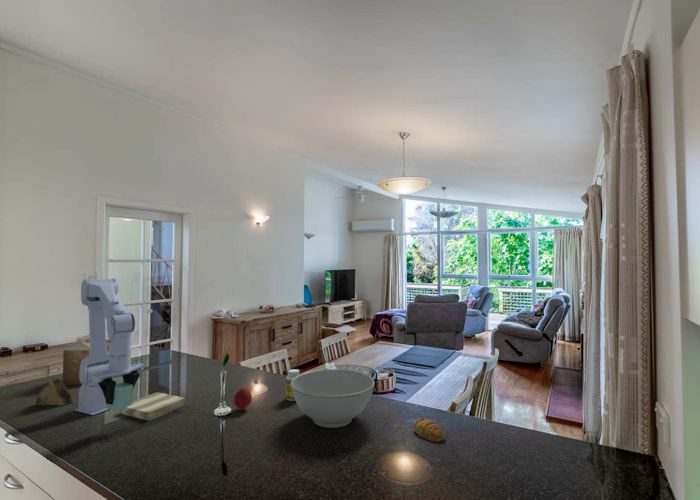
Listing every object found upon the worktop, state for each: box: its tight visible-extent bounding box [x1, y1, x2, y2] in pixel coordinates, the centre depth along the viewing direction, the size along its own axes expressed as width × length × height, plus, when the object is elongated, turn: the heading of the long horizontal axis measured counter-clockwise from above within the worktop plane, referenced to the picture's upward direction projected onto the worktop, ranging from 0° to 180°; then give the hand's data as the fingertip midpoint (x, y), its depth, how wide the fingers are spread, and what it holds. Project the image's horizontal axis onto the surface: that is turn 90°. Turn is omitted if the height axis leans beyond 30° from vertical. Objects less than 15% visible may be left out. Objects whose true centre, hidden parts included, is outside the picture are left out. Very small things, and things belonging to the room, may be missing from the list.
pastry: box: [413, 417, 446, 442], centre depth 107 cm, size 9×7×4 cm
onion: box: [233, 385, 253, 411], centre depth 125 cm, size 6×6×8 cm
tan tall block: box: [61, 333, 108, 386], centre depth 155 cm, size 11×11×19 cm
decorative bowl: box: [291, 368, 376, 429], centre depth 118 cm, size 27×27×12 cm
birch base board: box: [119, 391, 187, 422], centre depth 125 cm, size 14×14×2 cm
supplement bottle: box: [285, 368, 300, 402], centre depth 135 cm, size 6×6×10 cm
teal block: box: [105, 382, 134, 412], centre depth 110 cm, size 5×5×6 cm
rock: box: [35, 377, 75, 407], centre depth 130 cm, size 11×9×10 cm
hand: (118, 400), depth 110 cm, fingers closed on teal block, 5 cm apart
